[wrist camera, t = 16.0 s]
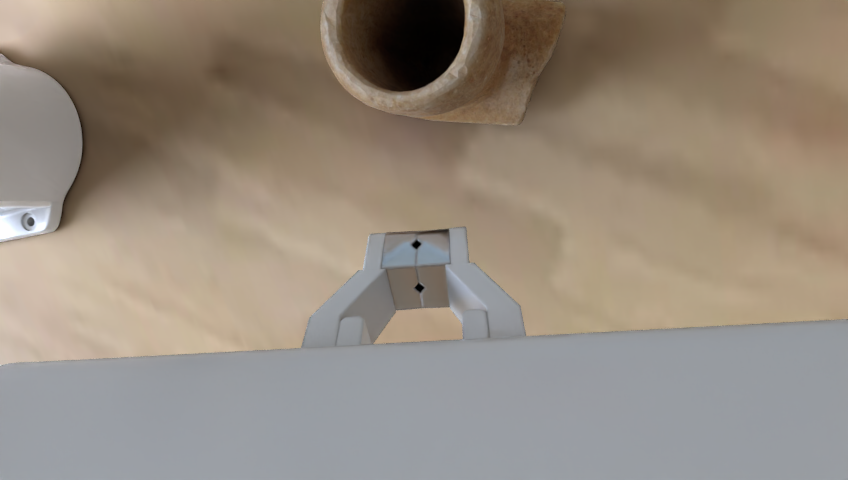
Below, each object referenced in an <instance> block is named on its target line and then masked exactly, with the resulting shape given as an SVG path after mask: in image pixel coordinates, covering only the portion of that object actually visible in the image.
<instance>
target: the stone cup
mask: <svg viewBox="0 0 848 480" xmlns="http://www.w3.org/2000/svg"><path fill="white" fill-rule="evenodd" d="M565 16H566V8H565V5H564V4H563V3H561V2H558V1H548V0H323V3H322V10H321V18H320V32H321V42H322V46H323V50H324V53H325V57H326V60H327V62H328V64H329V66H330V68H331V70H332V71H333V73H334V75H335V76H336V78H337V80H338V81H339V82H340V83H341V85H342V86H343V87H344V88H345V89H346V90H347V91H348V92H349V93H350V94H351V95H352V96H354V97H355V98H357V99H358V100H360V101H361V102H363V103H364V104H366V105H368V106H370V107H373V108H376V109H379V110H382V111H385V112H388V113H391V114H396V115H404V116H410V117H414V118H419V119H426V120H434V121H446V122H462V123H483V124H498V125H519V124H521V123H522V121H523V118H524V116H525V113H526V109H527V106H528V103H529V102H530V99H531V95H532V91H533V88H534V87H535V85H536V83H537V79H538V77H539V74H540V73H541V72H542V71H543V69H544V67H545V65H546V64H547V62H548V61H549V60H550V58H551V57H552V54H553V51H554V49H555V47H556V44H557V41H558V38H559V36H560V32H561V29H562V25H563V22H564V19H565Z"/></svg>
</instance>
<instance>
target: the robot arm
mask: <svg viewBox="0 0 848 480" xmlns="http://www.w3.org/2000/svg"><path fill="white" fill-rule="evenodd" d="M81 156H82V130H81V124H80V120H79V117H78V114H77V111H76V108H75V106H74V104H73V102H72V100H71V98H70V97H69V95H68V94H67V92H66V91H65V90H64V88H63V87H62V86H61V85H60V84H59V83H58V82H57V81H56V80H54V79H53V78H52V77H51V76H49V75H48V74H46V73H44V72H42V71H40V70H38V69H35V68H31V67H27V66H22V65H18V64H15V63H12V62H11V61H10V60H9V59H7V58H6V57H5V56H3V55H2V54H1V53H0V242H4V241H9V240H14V239H19V238H25V237H30V236H35V235H40V234H46V233H50V232H53V231H55V230H56V229H57V227H58V225H59V223H60V219H61V214H62V207H63V201H64V198H65V196H66V194H67V192H68V190H69V188H70V187H71V185H72V183H73V181H74V179H75V177H76V175H77V172H78V169H79V165H80V161H81ZM449 231H450V232H449ZM441 307H450V309H451V310H452V311H453V313H454V314H455V315H456V317H457V318H458V319H459V321H460V322H461V323H462V328H463V339H461V340H441V341H423V342H404V343H386V344H373V343H374V342H375V340H376V339H377V338H378V336H379V335H380V333H381V332H382V331H383V329H384V328H385V326H386V325H387V324H388V322H389V321H390V319H391V318H392V317H393V315H394V314H395V312H396V310H406V309H418V308H441ZM0 480H848V319H838V320H819V321H800V322H782V323H763V324H744V325H725V326H706V327H687V328H669V329H650V330H631V331H612V332H593V333H574V334H556V335H539V336H526V333H525V328H524V322H523V317H522V312H521V307H520V305H519V304H518V303H517V302H516V301H515V300H513V299H512V298H511V297H510V296H509V295H508V294H507V293H506V292H505V291H504V290H503V289H502V288H501V287H500V286H498V285H497V284H496V283H495V282H494V281H493V280H492V279H491V278H490V277H489V276H488V275H487V274H486V273H485V272H483V271H482V270H481V269H480V268H479V267H478V266H477V265H476V264H475V263H469V253H468V241H467V230H466V227H456V228H450V229H437V230H425V231H408V232H388V233H374V234H370V235H369V237H368V243H367V248H366V254H365V260H364V266H363V270H358V271H357V272H356V273H355V274H354V275H353V276H352V277H351V278H350V279H349V280H348V281H347V282H346V283H345V284H344V285H343V286H342V287H341V288H340V289H339V290H338V291H337V292H336V293H335V294H333V295H332V296H331V297H330V298H329V299H328V300H327V301H326V302H325V303H324V304H323V305H322V306H321V307H320V308H319V309H318V310H317V311H316V312H315V313H314V314H313V315H312V316H311V317H310V318H309V321H308V325H307V328H306V332H305V336H304V339H303V343H302V347H301V348H292V349H273V350H254V351H235V352H217V353H197V354H178V355H159V356H140V357H121V358H102V359H83V360H63V361H44V362H19V363H9V364H5V365H1V366H0Z"/></svg>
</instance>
